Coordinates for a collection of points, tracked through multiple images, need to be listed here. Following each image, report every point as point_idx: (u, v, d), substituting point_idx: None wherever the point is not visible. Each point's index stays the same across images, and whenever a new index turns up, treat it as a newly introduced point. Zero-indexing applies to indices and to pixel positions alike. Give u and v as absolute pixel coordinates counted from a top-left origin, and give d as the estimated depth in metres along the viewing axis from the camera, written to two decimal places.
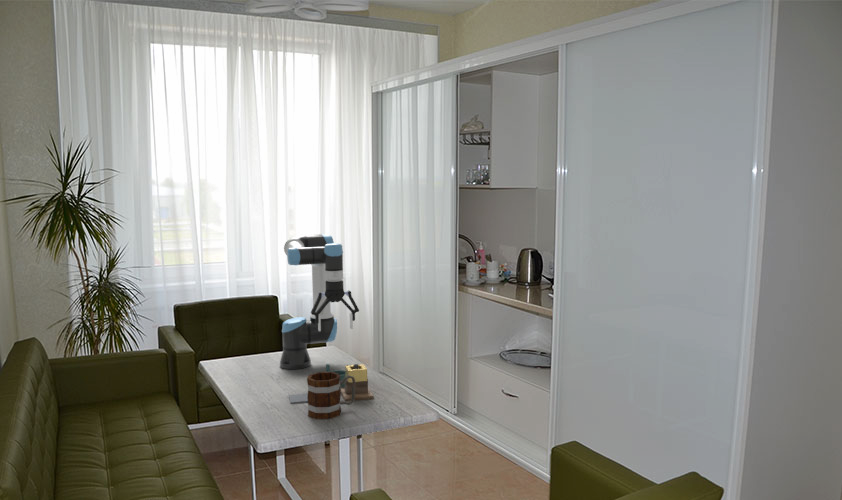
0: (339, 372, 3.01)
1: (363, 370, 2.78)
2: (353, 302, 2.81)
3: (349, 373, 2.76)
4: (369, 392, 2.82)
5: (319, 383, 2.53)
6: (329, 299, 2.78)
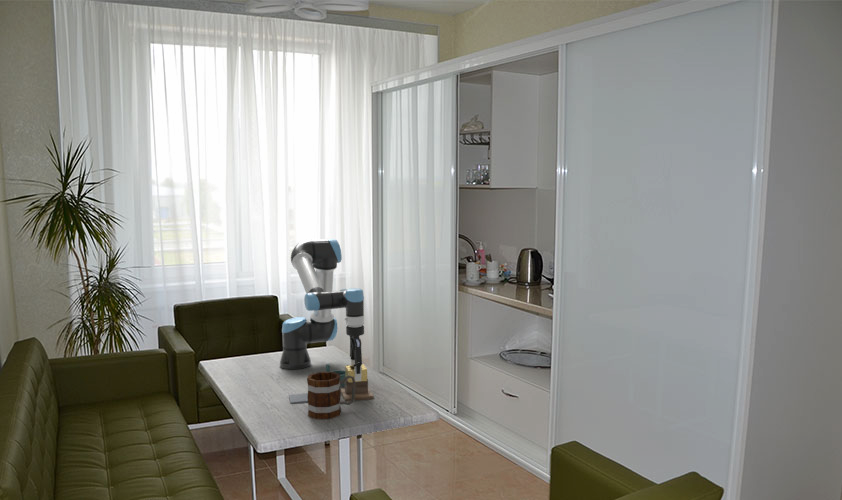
0: (339, 372, 3.01)
1: (363, 370, 2.78)
2: (355, 354, 2.74)
3: (349, 373, 2.76)
4: (369, 392, 2.82)
5: (319, 383, 2.53)
6: (350, 343, 2.81)
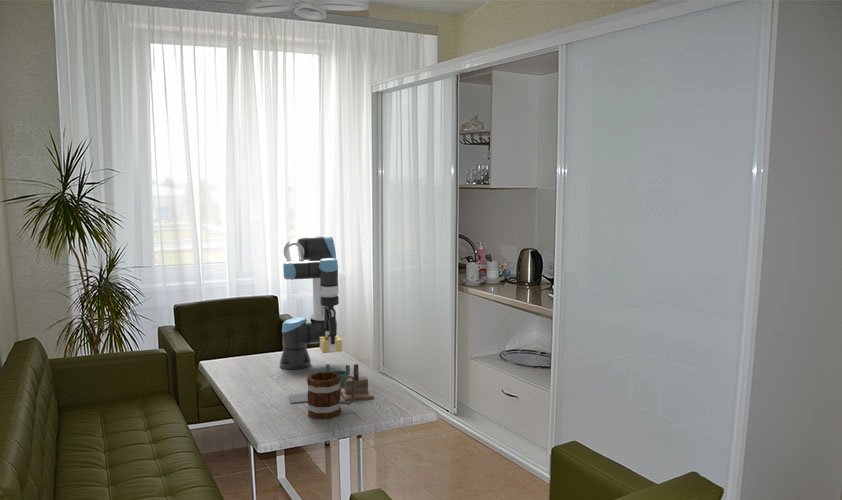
0: (339, 372, 3.01)
1: (338, 341, 2.75)
2: (329, 324, 2.71)
3: (323, 344, 2.73)
4: (369, 392, 2.82)
5: (319, 383, 2.53)
6: (325, 313, 2.78)
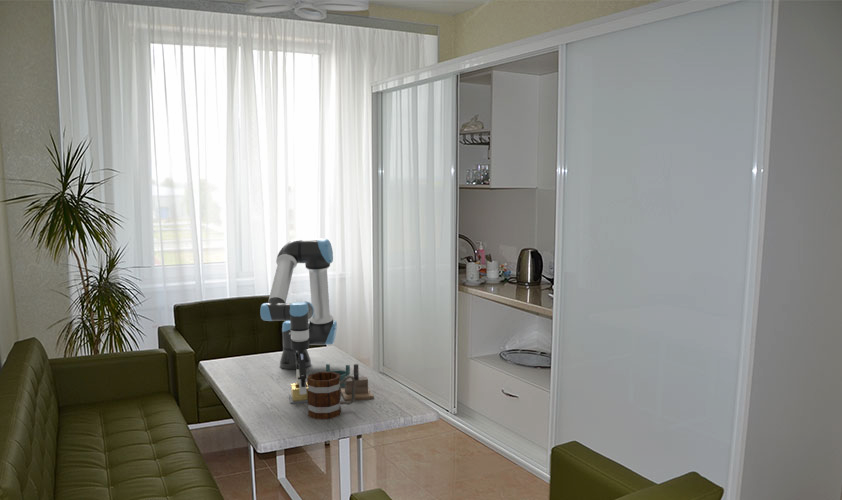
0: (339, 372, 3.01)
1: None
2: (299, 367, 2.69)
3: (293, 392, 2.73)
4: (369, 392, 2.82)
5: (319, 383, 2.53)
6: None
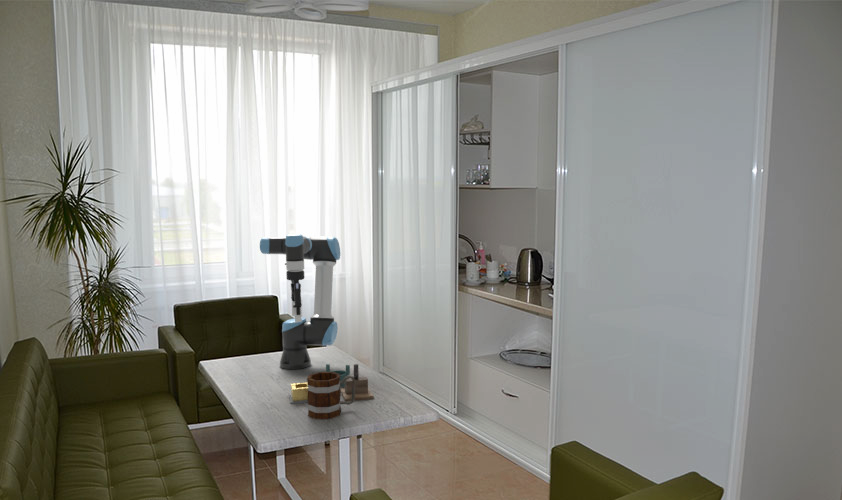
0: (339, 372, 3.01)
1: None
2: (294, 296, 2.77)
3: (293, 392, 2.73)
4: (369, 392, 2.82)
5: (319, 383, 2.53)
6: (291, 287, 2.87)
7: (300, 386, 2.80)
